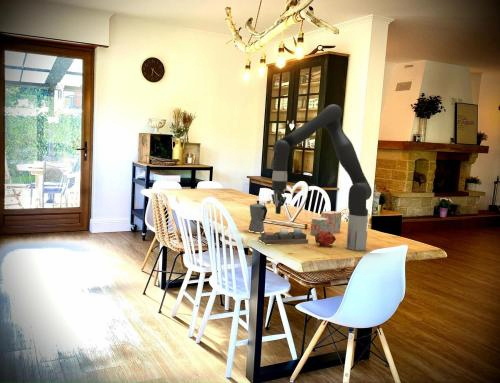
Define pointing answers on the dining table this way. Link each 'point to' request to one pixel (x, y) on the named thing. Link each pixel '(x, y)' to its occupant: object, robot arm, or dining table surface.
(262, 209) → the coffeepot
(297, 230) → the slate button
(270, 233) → the terracotta button
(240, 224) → the dining table surface
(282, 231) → the cream button
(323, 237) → the dragon fruit
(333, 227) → the stack of blocks
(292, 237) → the button board
